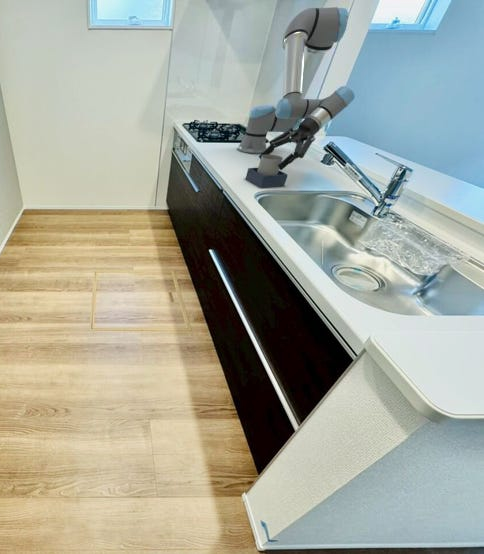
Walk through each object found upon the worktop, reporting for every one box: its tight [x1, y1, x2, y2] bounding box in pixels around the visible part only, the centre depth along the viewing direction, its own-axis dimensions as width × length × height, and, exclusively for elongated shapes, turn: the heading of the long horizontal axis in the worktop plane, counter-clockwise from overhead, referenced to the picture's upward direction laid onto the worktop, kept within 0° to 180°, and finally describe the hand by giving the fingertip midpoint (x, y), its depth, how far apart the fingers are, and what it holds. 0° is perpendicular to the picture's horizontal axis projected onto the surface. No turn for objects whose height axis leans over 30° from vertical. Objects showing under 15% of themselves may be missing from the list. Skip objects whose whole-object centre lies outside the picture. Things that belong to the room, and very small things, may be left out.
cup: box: [257, 153, 284, 176], centre depth 130 cm, size 8×8×10 cm
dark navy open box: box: [245, 167, 289, 189], centre depth 132 cm, size 12×12×5 cm
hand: (269, 163), depth 129 cm, fingers open, 13 cm apart
